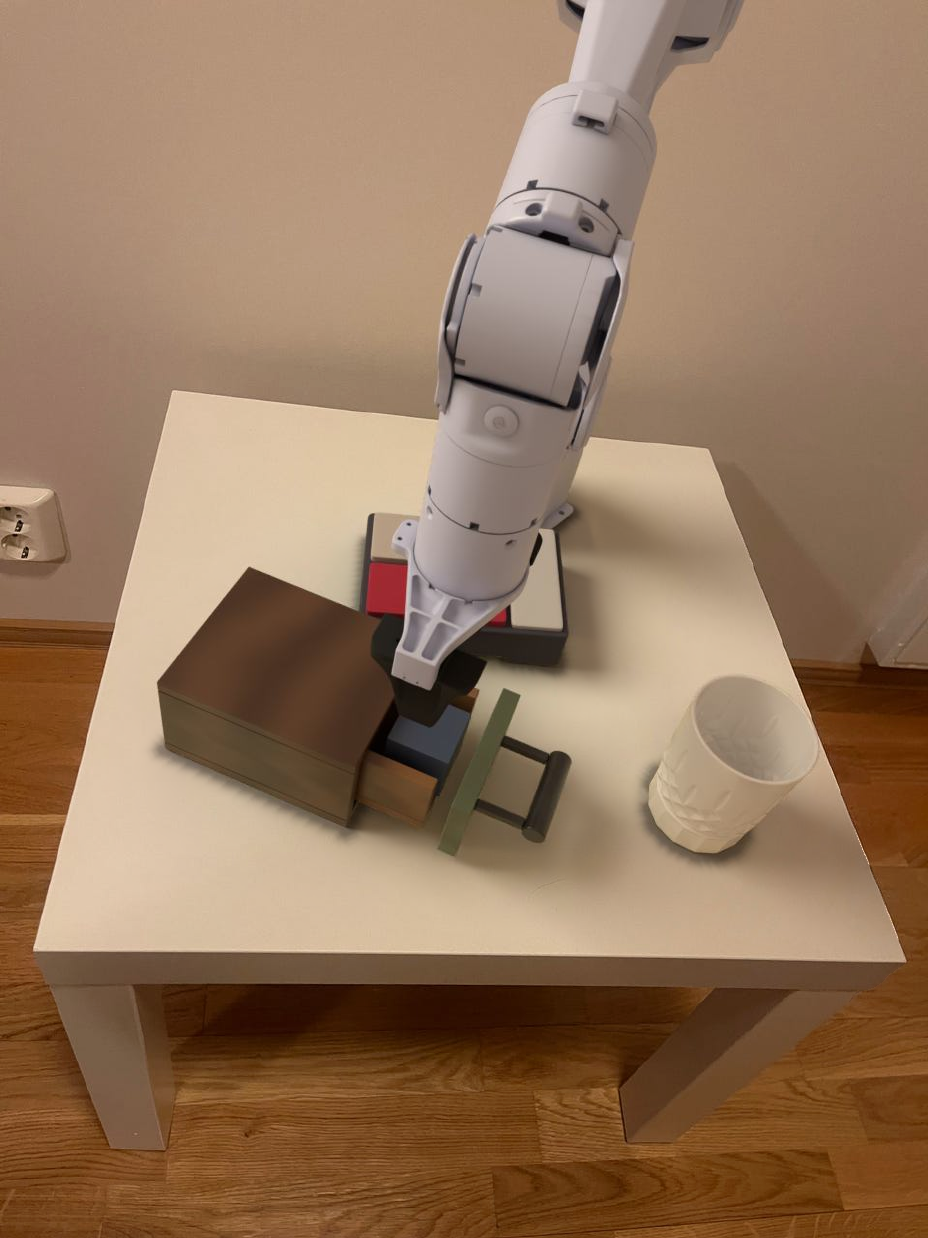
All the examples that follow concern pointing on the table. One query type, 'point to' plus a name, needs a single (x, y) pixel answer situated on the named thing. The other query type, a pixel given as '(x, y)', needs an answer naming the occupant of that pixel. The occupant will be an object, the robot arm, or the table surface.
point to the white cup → (731, 762)
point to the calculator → (514, 634)
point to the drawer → (414, 790)
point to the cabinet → (279, 694)
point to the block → (429, 744)
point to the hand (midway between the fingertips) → (442, 667)
